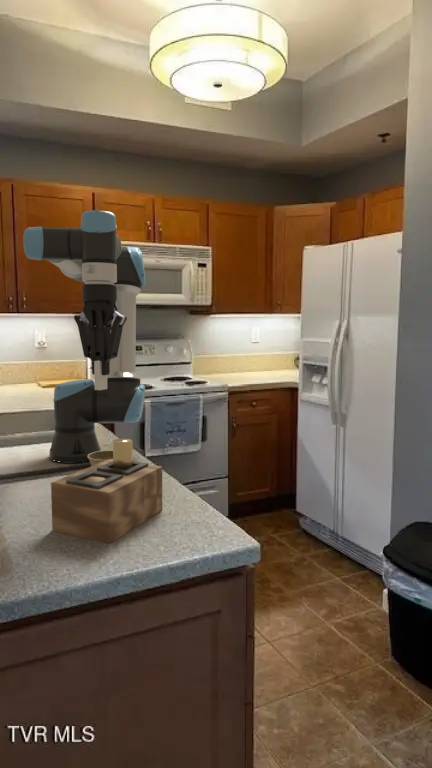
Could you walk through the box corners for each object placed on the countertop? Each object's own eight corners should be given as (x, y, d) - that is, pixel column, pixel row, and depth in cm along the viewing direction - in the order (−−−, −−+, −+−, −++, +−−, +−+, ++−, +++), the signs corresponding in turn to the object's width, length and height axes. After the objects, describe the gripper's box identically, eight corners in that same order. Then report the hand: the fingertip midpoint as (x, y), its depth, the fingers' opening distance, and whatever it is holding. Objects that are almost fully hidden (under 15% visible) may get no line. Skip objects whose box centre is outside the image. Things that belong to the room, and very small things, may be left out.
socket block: (110, 500, 129) (110, 456, 128) (162, 509, 123) (162, 463, 122) (52, 530, 111) (50, 479, 110) (109, 543, 105) (108, 489, 104)
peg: (120, 473, 123) (120, 437, 122) (136, 475, 122) (136, 439, 121) (109, 478, 120) (109, 441, 118) (125, 481, 118) (125, 443, 117)
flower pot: (80, 488, 138) (79, 454, 136) (111, 480, 144) (110, 448, 143) (102, 497, 131) (102, 462, 130) (133, 488, 138) (133, 454, 137)
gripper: (64, 283, 121) (67, 389, 124) (113, 282, 115) (115, 393, 118) (86, 285, 128) (88, 385, 131) (133, 284, 122) (134, 389, 125)
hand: (101, 389), depth 124 cm, fingers closed
